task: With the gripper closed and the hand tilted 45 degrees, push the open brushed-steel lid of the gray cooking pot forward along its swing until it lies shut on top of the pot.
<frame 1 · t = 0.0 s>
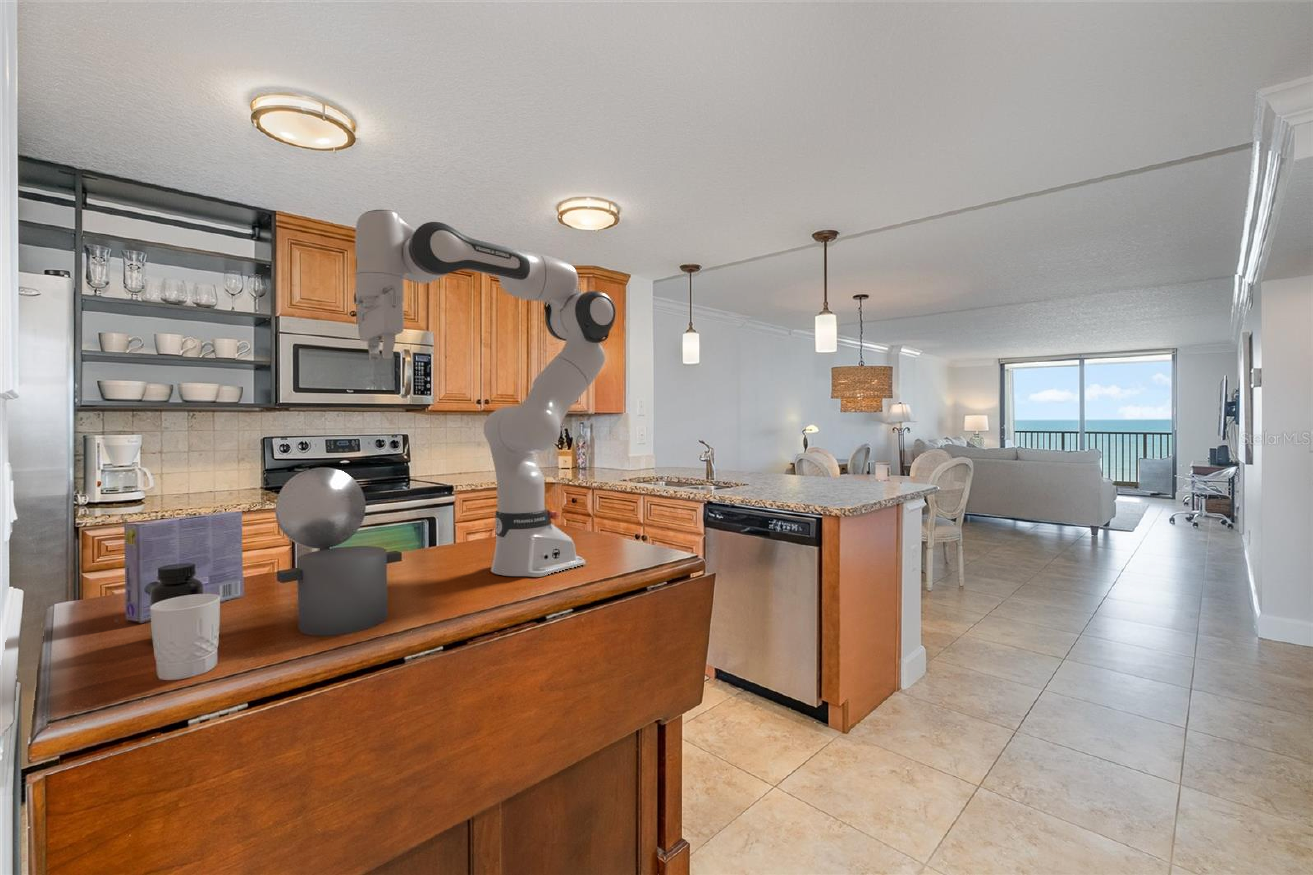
hand: (381, 360, 121), 48 cm above the countertop, tool pointing down, fingers open, 8 cm apart
gray cooking pot: (344, 621, 106), on the countertop
supplement bottle: (178, 639, 98), on the countertop
white cup: (187, 672, 85), on the countertop
cake pan box: (191, 608, 114), on the countertop
cooker lid: (322, 507, 111), point 19 cm above the countertop, hinge at 100.0°
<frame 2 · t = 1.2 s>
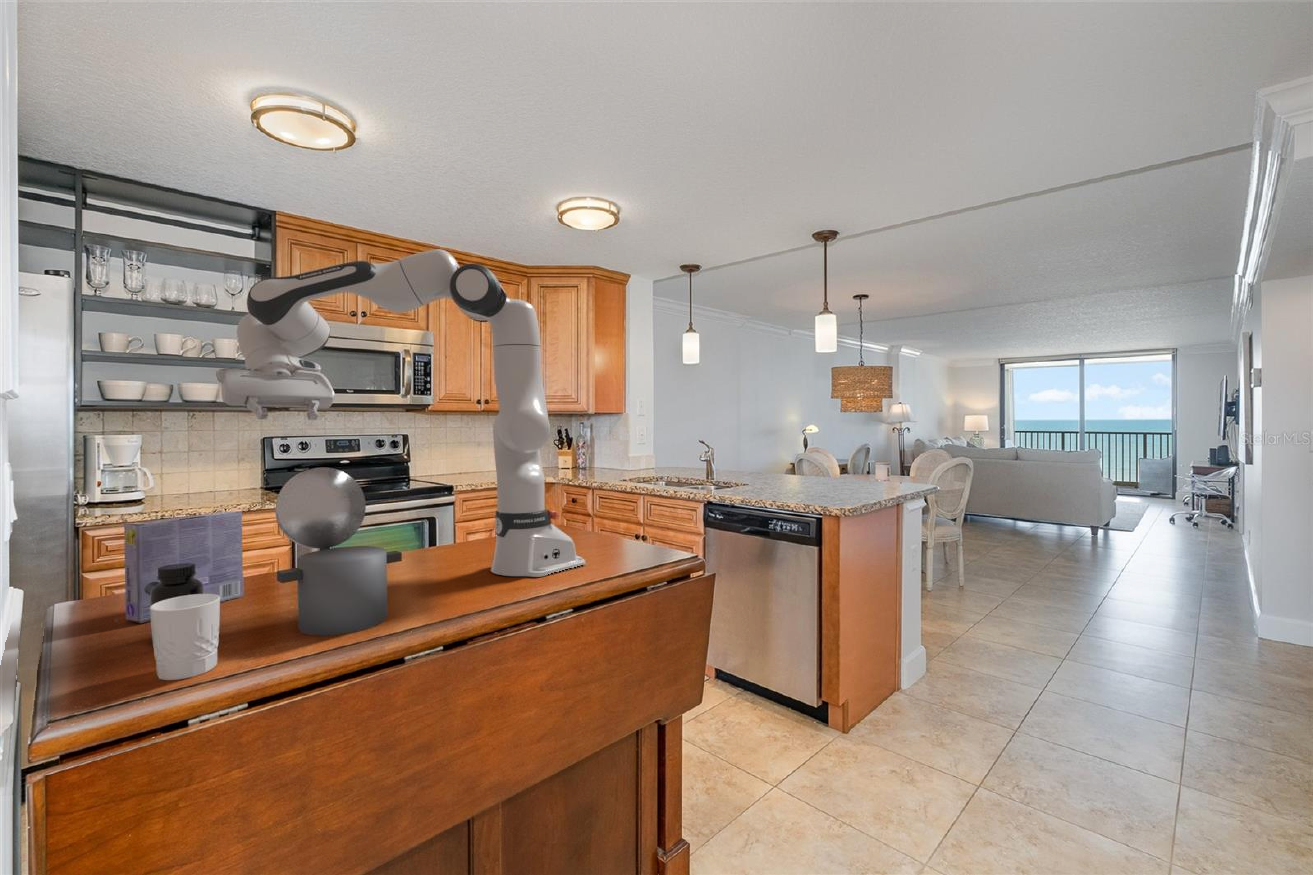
hand: (289, 417, 121), 36 cm above the countertop, tool tilted 45°, fingers open, 8 cm apart
nothing on the countertop moved.
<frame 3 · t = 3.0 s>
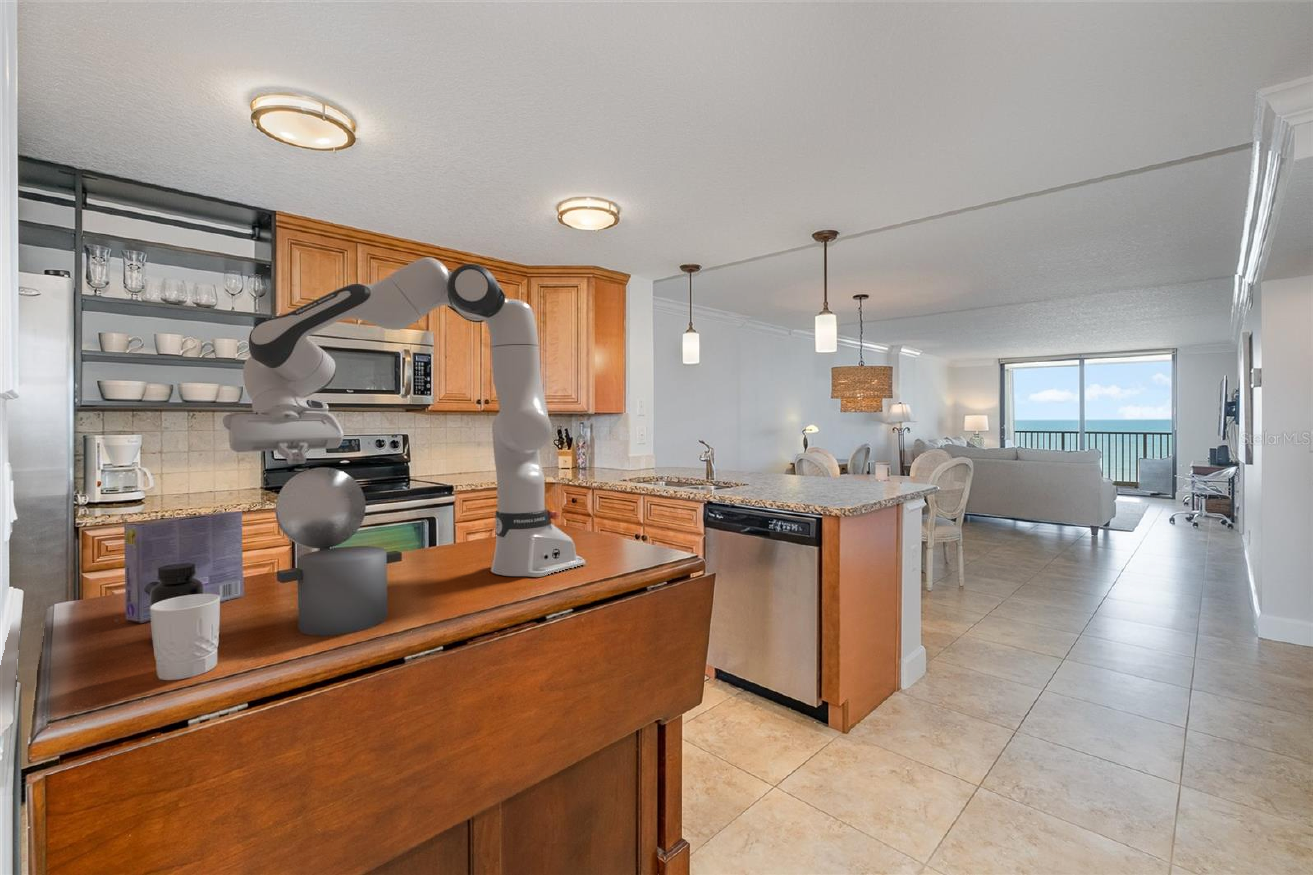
hand: (297, 461, 119), 27 cm above the countertop, tool tilted 45°, fingers closed
nothing on the countertop moved.
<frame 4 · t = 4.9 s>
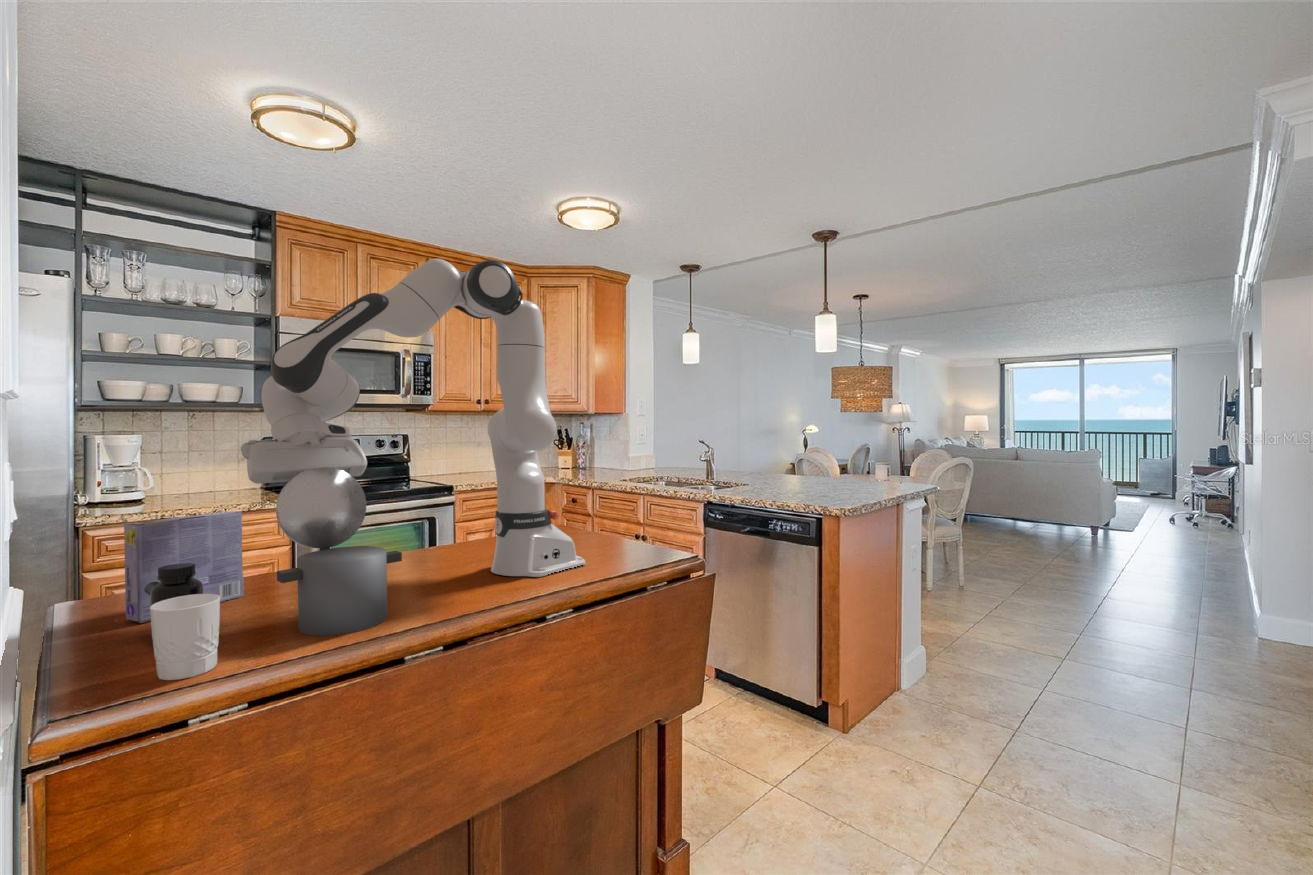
hand: (319, 493, 112), 22 cm above the countertop, tool tilted 45°, fingers closed, pressing on cooker lid
cooker lid: (323, 507, 111), point 20 cm above the countertop, hinge at 97.3°, touching gripper
everything else where it was.
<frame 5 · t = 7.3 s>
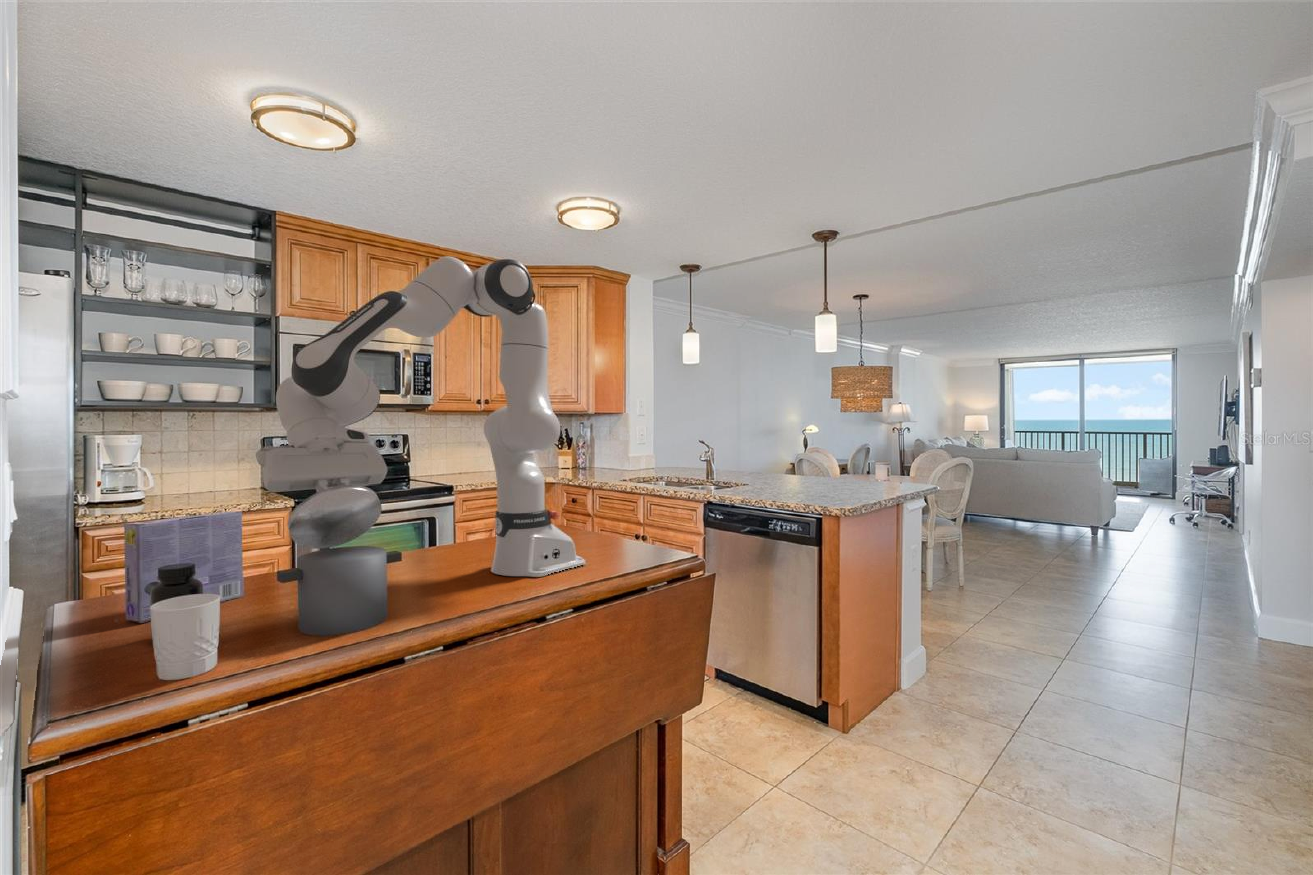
hand: (339, 502, 106), 21 cm above the countertop, tool tilted 45°, fingers closed, pressing on cooker lid
cooker lid: (336, 517, 107), point 18 cm above the countertop, hinge at 48.6°, touching gripper
everything else where it was.
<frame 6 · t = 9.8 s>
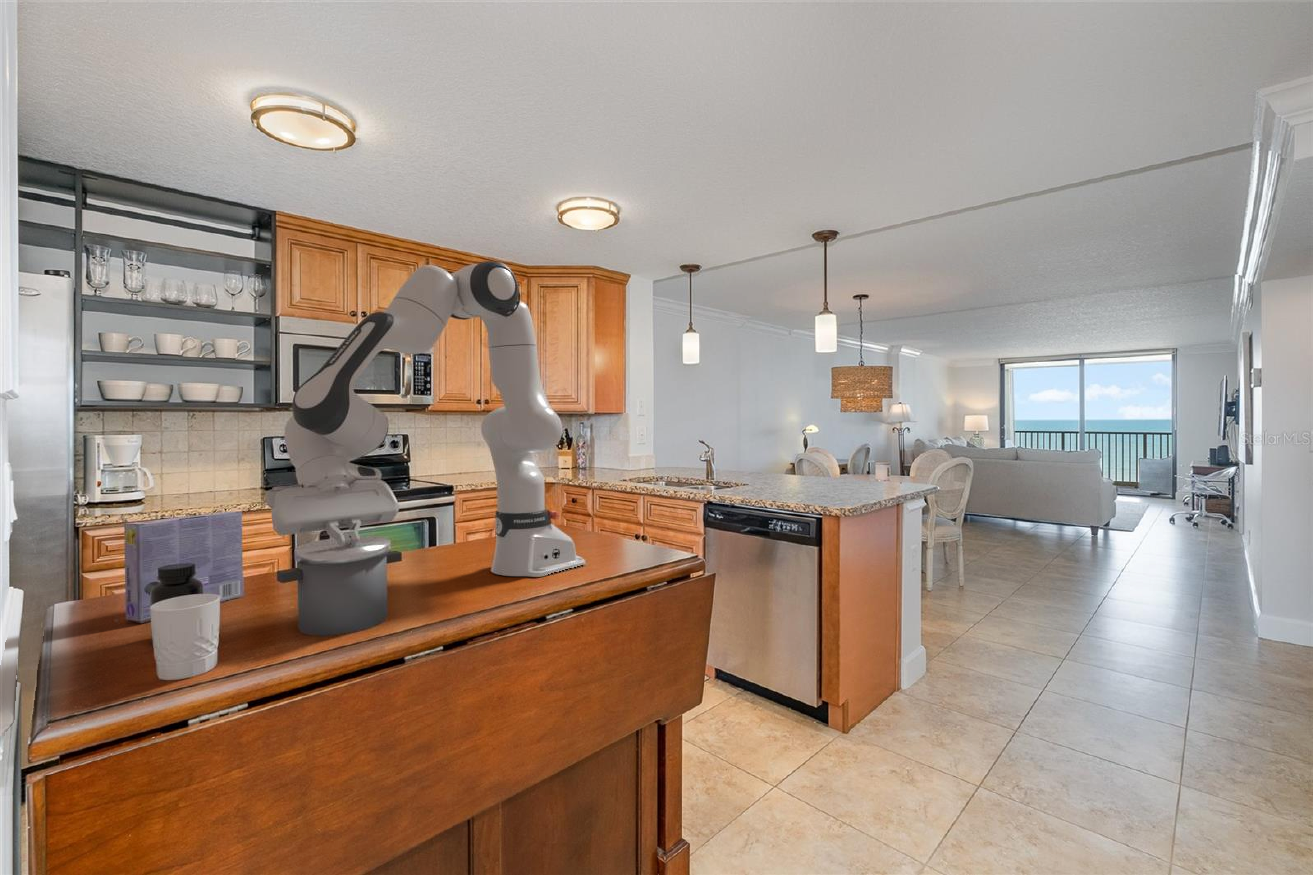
hand: (350, 544, 103), 14 cm above the countertop, tool tilted 45°, fingers closed, pressing on cooker lid
cooker lid: (344, 549, 105), point 13 cm above the countertop, hinge at 0.0°, touching gripper
everything else where it was.
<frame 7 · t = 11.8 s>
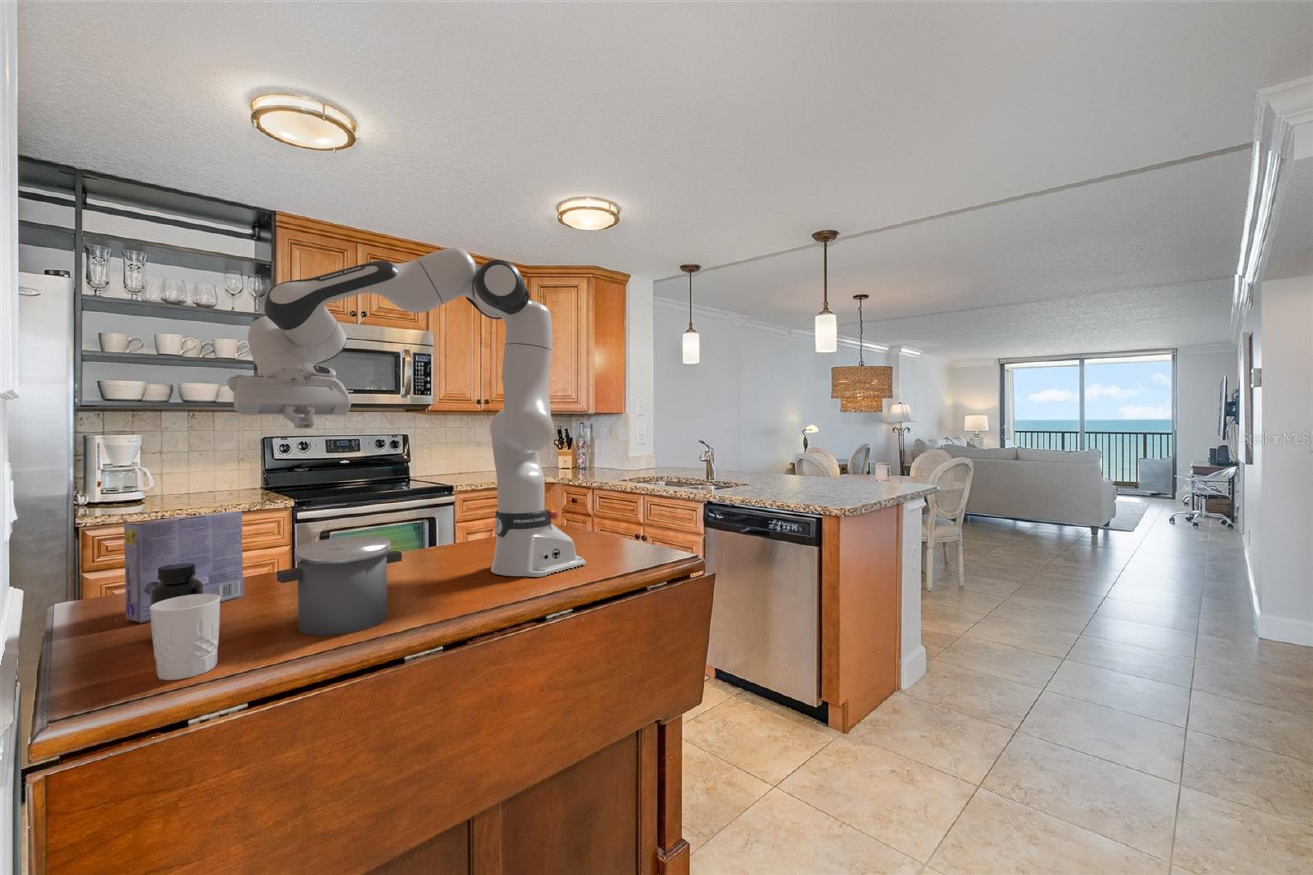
hand: (304, 426, 115), 35 cm above the countertop, tool tilted 45°, fingers closed
cooker lid: (344, 549, 105), point 13 cm above the countertop, hinge at -0.1°
everything else where it was.
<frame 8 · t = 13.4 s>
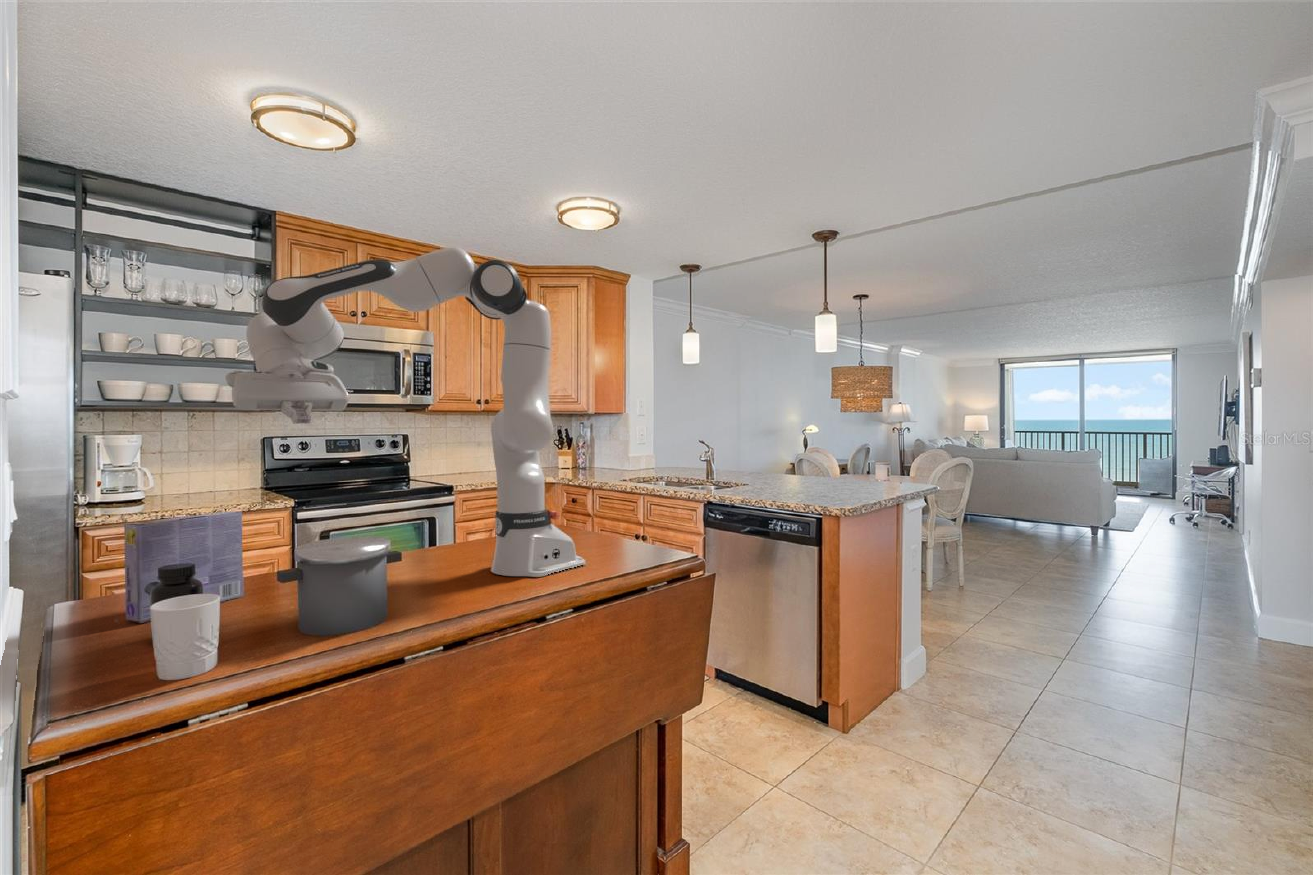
hand: (302, 421, 117), 36 cm above the countertop, tool tilted 45°, fingers closed
nothing on the countertop moved.
at the end: cooker lid at +0° (first picture: +100°); supplement bottle moved 0.2 cm from its start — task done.
